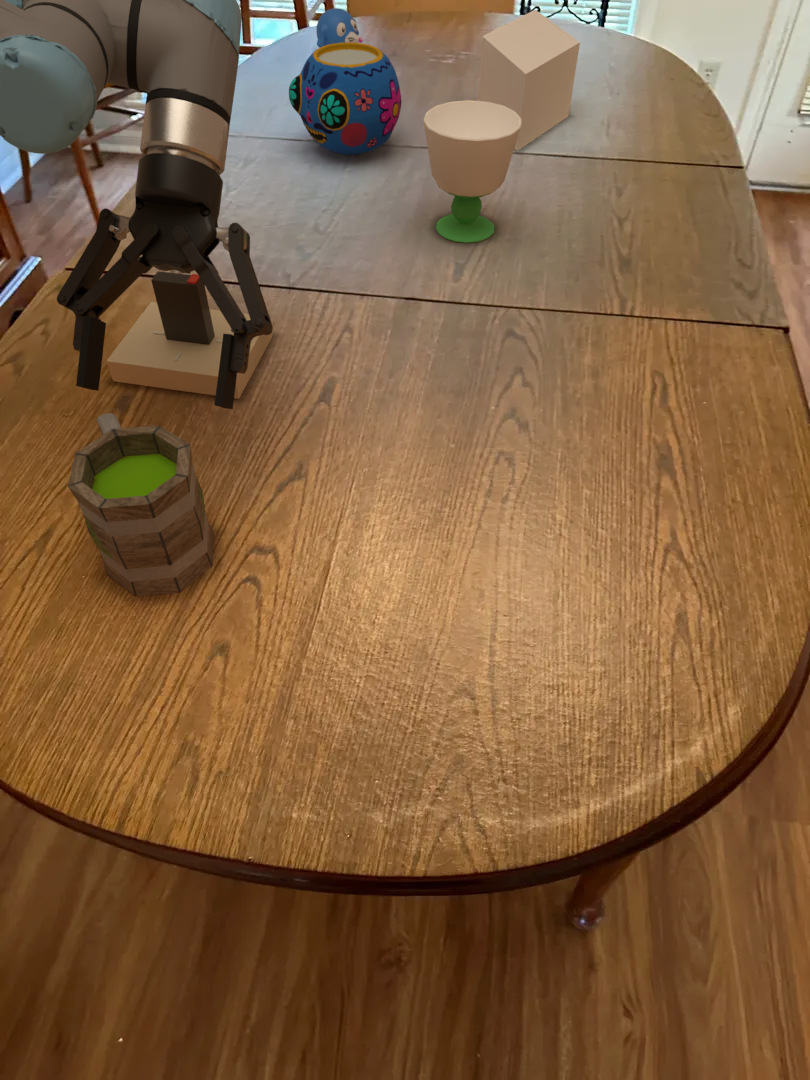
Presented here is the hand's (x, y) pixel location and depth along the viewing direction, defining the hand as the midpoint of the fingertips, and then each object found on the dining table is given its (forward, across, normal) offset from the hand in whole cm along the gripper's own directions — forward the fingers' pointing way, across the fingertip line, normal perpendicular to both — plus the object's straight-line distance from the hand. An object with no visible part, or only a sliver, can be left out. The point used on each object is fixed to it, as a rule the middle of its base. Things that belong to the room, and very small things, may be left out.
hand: (154, 398), depth 74 cm
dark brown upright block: (-9, +7, -22) cm, 25 cm away
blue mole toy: (-84, +16, -102) cm, 133 cm away
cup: (-35, -21, -53) cm, 67 cm away
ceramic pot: (-52, +3, -70) cm, 87 cm away
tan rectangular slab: (-7, +7, -24) cm, 26 cm away
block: (-68, -25, -86) cm, 113 cm away
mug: (+14, 0, -4) cm, 14 cm away
